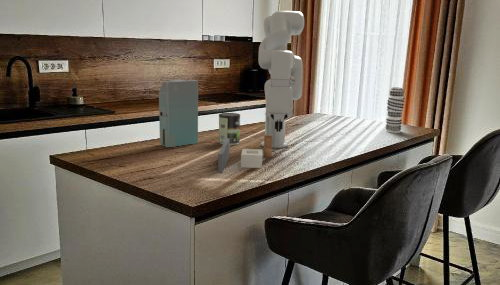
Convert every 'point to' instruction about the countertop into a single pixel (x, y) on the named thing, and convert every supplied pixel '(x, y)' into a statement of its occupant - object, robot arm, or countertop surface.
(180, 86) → the device
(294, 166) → the countertop surface
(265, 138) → the dowel
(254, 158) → the socket block
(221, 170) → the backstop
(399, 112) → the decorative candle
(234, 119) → the coffee can
